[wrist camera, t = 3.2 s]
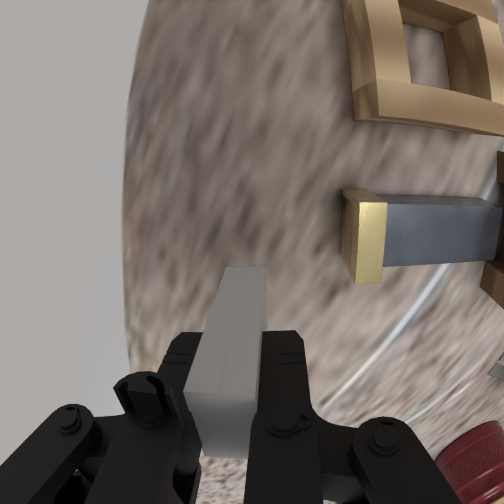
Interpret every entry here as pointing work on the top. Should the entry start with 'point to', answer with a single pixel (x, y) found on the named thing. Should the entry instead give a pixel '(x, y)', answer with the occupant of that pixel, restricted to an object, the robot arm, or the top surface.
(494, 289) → the socket block
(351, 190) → the bar
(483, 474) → the canister
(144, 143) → the top surface
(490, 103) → the wooden square frame
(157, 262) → the top surface
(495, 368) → the skyscraper
